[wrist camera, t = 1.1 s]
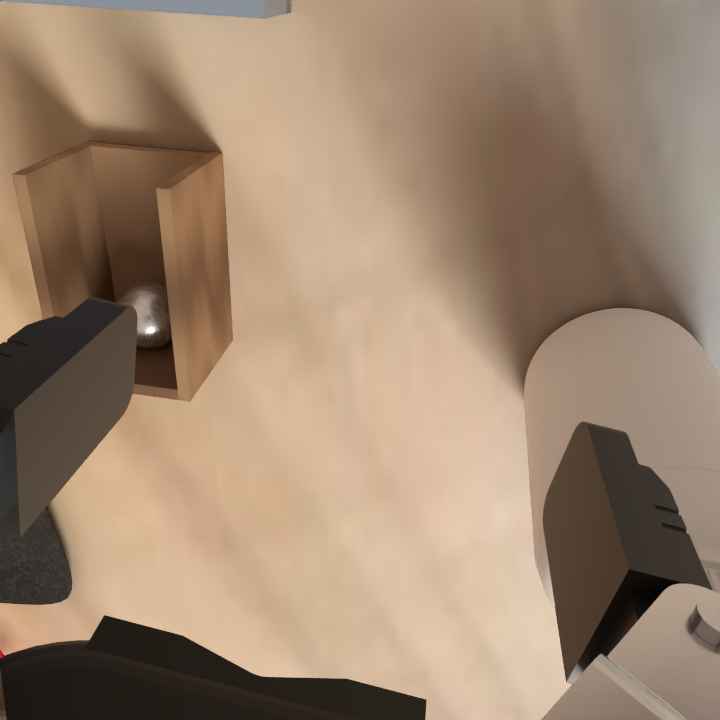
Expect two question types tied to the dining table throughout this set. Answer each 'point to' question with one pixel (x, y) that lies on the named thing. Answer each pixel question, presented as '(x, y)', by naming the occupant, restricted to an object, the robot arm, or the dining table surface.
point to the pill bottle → (629, 414)
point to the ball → (149, 313)
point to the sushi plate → (34, 565)
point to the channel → (135, 247)
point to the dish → (185, 6)
